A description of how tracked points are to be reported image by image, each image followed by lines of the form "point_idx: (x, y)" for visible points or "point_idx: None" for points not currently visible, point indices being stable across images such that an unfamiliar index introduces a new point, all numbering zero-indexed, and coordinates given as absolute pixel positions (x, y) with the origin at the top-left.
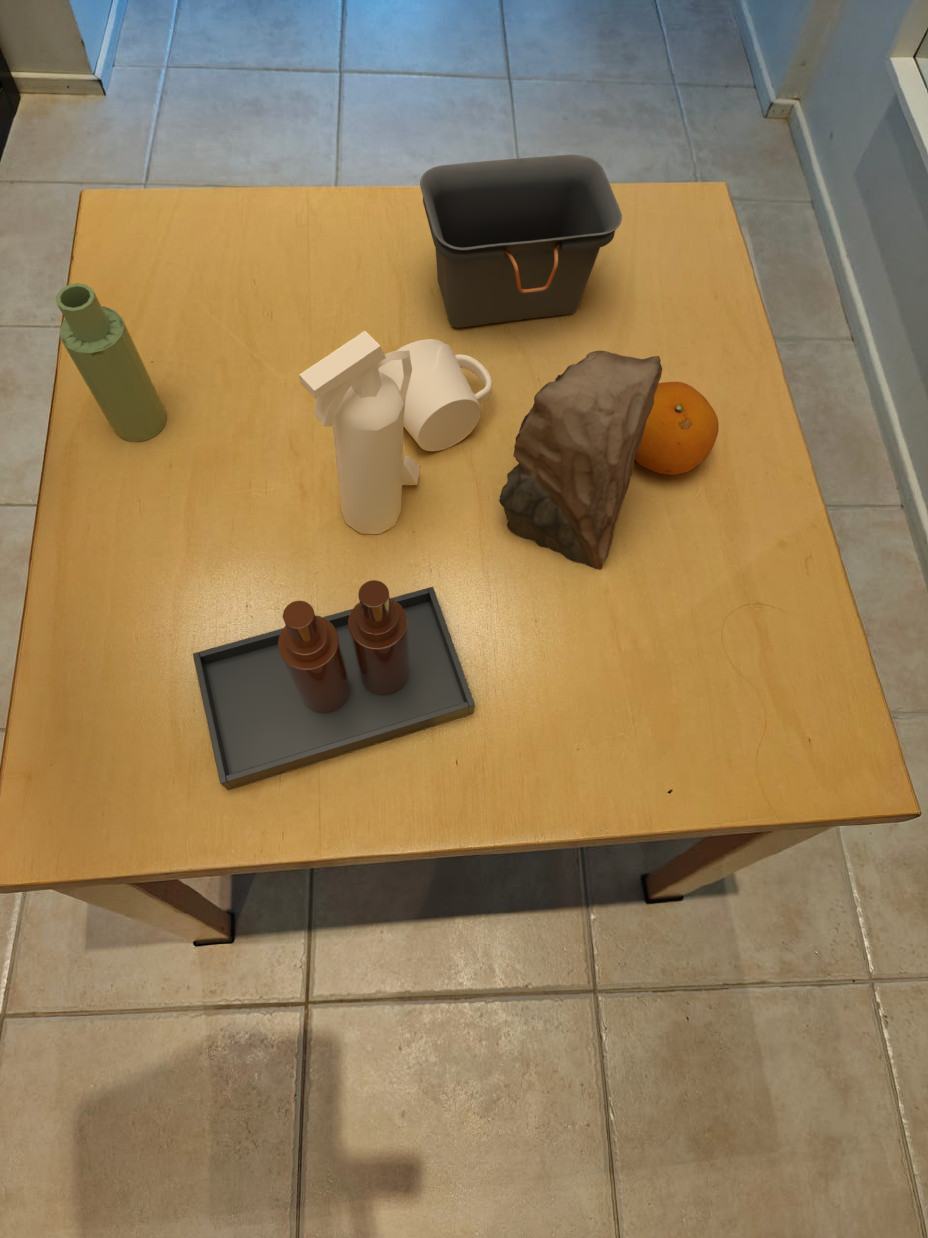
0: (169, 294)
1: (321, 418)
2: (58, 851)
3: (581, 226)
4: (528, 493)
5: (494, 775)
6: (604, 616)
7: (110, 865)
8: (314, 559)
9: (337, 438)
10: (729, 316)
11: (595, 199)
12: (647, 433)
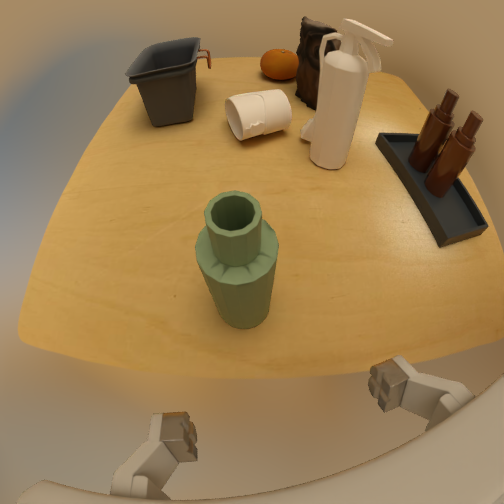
0: (104, 282)
1: (378, 68)
2: None
3: (168, 64)
4: None
5: None
6: (365, 101)
7: None
8: (366, 186)
9: (358, 92)
10: (211, 61)
11: (169, 48)
12: (292, 61)
